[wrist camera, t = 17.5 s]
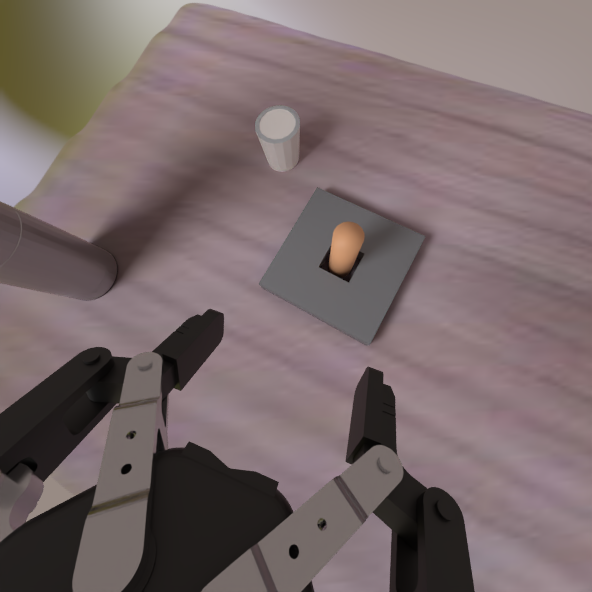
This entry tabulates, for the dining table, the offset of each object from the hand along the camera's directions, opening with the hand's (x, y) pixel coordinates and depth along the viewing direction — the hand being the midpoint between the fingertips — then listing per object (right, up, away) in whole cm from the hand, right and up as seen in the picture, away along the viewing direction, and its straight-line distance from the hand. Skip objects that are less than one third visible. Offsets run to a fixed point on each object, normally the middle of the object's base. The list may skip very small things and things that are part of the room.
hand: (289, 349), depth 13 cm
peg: (+7, +7, +26) cm, 28 cm away
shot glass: (-2, +27, +31) cm, 41 cm away
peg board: (+7, +8, +26) cm, 28 cm away
